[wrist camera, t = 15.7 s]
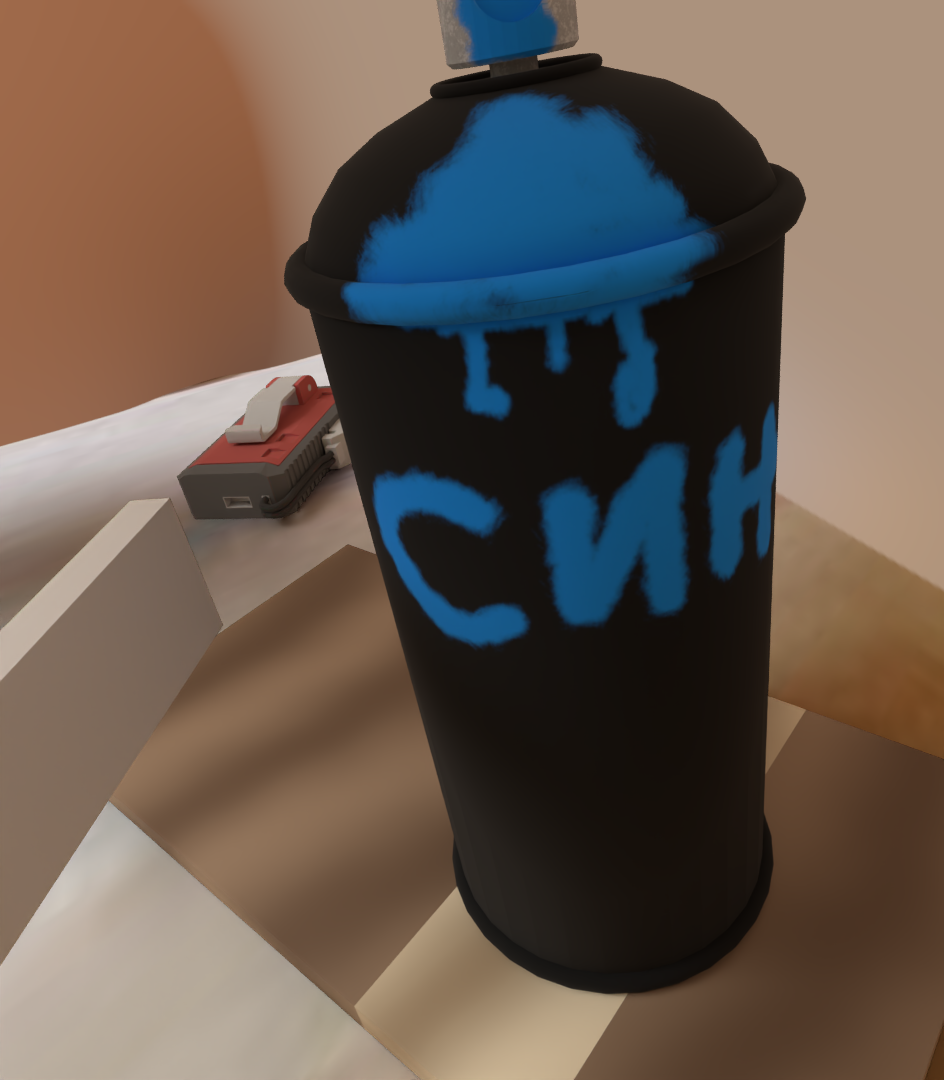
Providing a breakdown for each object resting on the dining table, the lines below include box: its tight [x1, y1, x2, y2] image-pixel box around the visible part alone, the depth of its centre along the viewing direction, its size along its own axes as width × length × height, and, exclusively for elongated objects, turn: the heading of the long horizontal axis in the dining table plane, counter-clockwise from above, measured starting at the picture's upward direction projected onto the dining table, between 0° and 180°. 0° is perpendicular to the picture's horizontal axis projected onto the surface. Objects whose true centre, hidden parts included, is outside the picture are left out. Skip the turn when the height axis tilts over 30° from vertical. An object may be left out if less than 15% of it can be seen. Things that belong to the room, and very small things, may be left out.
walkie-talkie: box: [177, 375, 351, 519], centre depth 49 cm, size 9×4×20 cm
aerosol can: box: [284, 0, 806, 994], centre depth 16 cm, size 8×8×20 cm
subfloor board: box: [109, 545, 944, 1080], centre depth 25 cm, size 26×14×1 cm, turn 50°
